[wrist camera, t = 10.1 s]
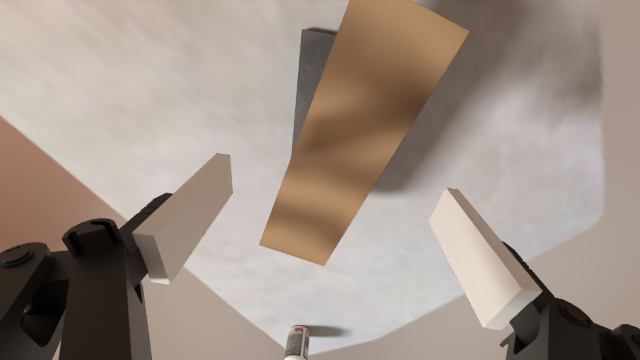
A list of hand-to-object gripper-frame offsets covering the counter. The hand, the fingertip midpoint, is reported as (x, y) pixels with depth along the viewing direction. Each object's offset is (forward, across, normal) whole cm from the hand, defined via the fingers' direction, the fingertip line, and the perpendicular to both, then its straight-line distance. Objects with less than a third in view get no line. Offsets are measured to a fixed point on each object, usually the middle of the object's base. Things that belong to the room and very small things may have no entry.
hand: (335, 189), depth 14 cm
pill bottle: (+15, 0, -49) cm, 51 cm away
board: (+9, 0, -1) cm, 9 cm away
